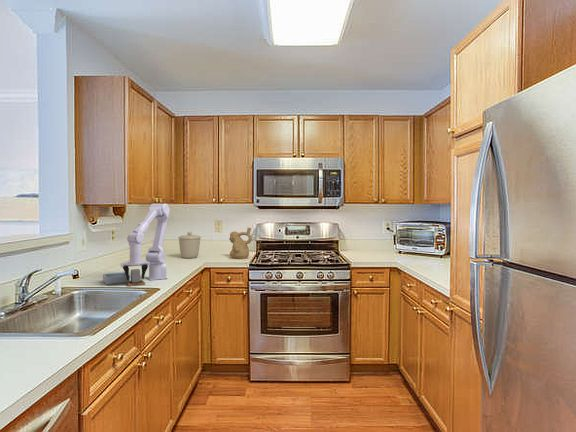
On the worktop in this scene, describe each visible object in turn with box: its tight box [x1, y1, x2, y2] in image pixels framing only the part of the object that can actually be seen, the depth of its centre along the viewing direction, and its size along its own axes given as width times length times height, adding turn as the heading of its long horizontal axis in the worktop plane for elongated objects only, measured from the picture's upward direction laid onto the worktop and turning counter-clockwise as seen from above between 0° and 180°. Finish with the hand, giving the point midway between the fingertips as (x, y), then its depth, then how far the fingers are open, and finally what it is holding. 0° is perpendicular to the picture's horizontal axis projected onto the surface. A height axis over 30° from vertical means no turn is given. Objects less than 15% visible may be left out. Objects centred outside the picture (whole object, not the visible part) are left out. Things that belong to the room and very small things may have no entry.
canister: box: [177, 231, 202, 259], centre depth 305 cm, size 18×18×21 cm
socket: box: [125, 279, 146, 287], centre depth 206 cm, size 8×8×1 cm
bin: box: [102, 271, 131, 286], centre depth 211 cm, size 12×12×4 cm
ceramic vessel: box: [229, 227, 253, 260], centre depth 307 cm, size 17×20×25 cm
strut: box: [130, 268, 141, 284], centre depth 206 cm, size 4×4×8 cm
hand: (135, 279), depth 206 cm, fingers open, 7 cm apart
